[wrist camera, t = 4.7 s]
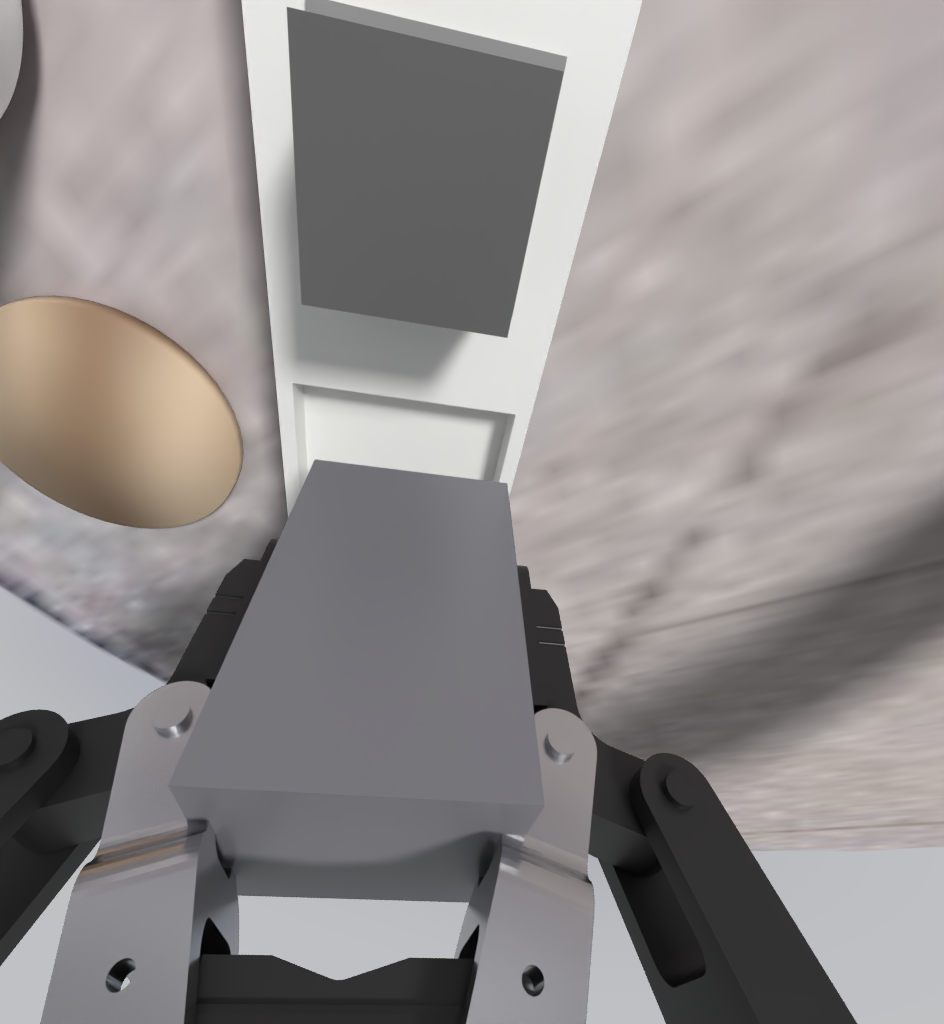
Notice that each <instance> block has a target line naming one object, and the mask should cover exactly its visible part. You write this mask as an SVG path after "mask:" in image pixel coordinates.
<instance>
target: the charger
mask: <svg viewBox="0 0 944 1024" xmlns="http://www.w3.org/2000/svg"><path fill="white" fill-rule="evenodd" d="M168 787H169V788H170V790H171V792H172V794H173V796H174V797H175V799H176V801H177V803H178V805H179V807H180V808H181V810H182V812H183V814H184V816H185V818H186V819H187V820H209V821H210V823H211V825H212V827H213V830H214V832H215V834H216V852H217V857H218V860H219V862H220V864H221V866H222V867H223V868H232V870H233V872H234V874H235V876H236V886H237V895H243V896H245V895H246V896H275V897H307V898H341V899H342V898H343V899H373V900H406V901H438V902H470V899H471V896H472V893H473V889H474V886H475V884H476V882H477V880H478V878H479V877H484V876H485V874H486V873H487V871H488V869H489V867H490V864H491V861H492V858H493V855H494V851H495V848H496V845H497V843H498V841H499V839H500V838H501V836H502V834H512V835H526V834H527V833H528V831H529V830H530V828H531V826H532V825H533V823H534V822H535V820H536V819H537V817H538V815H539V814H540V812H541V811H542V809H543V807H544V806H545V803H544V795H543V786H542V777H541V769H540V760H539V752H538V743H537V734H536V726H535V717H534V709H533V700H532V691H531V683H530V674H529V666H528V657H527V648H526V640H525V631H524V622H523V614H522V605H521V597H520V588H519V579H518V571H517V562H516V554H515V545H514V536H513V528H512V519H511V511H510V502H509V493H508V485H507V483H501V482H493V481H485V480H477V479H469V478H461V477H453V476H445V475H437V474H429V473H421V472H413V471H405V470H397V469H389V468H381V467H373V466H365V465H357V464H349V463H341V462H333V461H325V460H317V459H315V460H314V462H313V464H312V467H311V469H310V471H309V473H308V475H307V478H306V480H305V482H304V484H303V486H302V489H301V491H300V493H299V495H298V498H297V500H296V502H295V504H294V506H293V509H292V511H291V513H290V515H289V518H288V520H287V522H286V524H285V526H284V529H283V531H282V533H281V535H280V538H279V540H278V542H277V544H276V546H275V549H274V551H273V553H272V555H271V558H270V560H269V562H268V564H267V566H266V569H265V571H264V573H263V575H262V578H261V580H260V582H259V584H258V586H257V589H256V591H255V593H254V595H253V598H252V600H251V602H250V604H249V606H248V609H247V611H246V613H245V615H244V618H243V620H242V622H241V624H240V626H239V629H238V631H237V633H236V635H235V637H234V640H233V642H232V644H231V646H230V649H229V651H228V653H227V655H226V657H225V660H224V662H223V664H222V666H221V669H220V671H219V673H218V675H217V677H216V680H215V682H214V684H213V686H212V689H211V691H210V693H209V695H208V697H207V700H206V702H205V704H204V706H203V709H202V711H201V713H200V715H199V717H198V720H197V722H196V724H195V726H194V729H193V731H192V733H191V735H190V737H189V740H188V742H187V744H186V746H185V749H184V751H183V753H182V755H181V757H180V760H179V762H178V764H177V766H176V769H175V771H174V773H173V775H172V777H171V780H170V782H169V784H168Z"/></svg>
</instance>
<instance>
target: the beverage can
mask: <svg viewBox="0 0 944 1024" xmlns="http://www.w3.org/2000/svg"><path fill="white" fill-rule="evenodd" d="M22 47H23V17H22V4H21V0H0V118H1V117H2V115H3V114H4V112H5V110H6V109H7V107H8V105H9V103H10V100H11V98H12V96H13V93H14V90H15V87H16V84H17V80H18V76H19V71H20V65H21V58H22Z"/></svg>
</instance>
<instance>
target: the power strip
mask: <svg viewBox="0 0 944 1024" xmlns="http://www.w3.org/2000/svg"><path fill="white" fill-rule="evenodd" d="M241 1H242V12H243V23H244V34H245V45H246V56H247V67H248V78H249V90H250V101H251V112H252V123H253V134H254V145H255V156H256V167H257V178H258V190H259V201H260V212H261V223H262V234H263V245H264V256H265V267H266V279H267V290H268V301H269V312H270V323H271V334H272V345H273V356H274V367H275V379H276V390H277V401H278V412H279V423H280V434H281V445H282V456H283V468H284V479H285V490H286V501H287V512H288V518H289V515H290V513H291V511H292V509H293V506H294V504H295V502H296V500H297V498H298V495H299V493H300V491H301V489H302V486H303V484H304V482H305V480H306V478H307V475H308V473H309V471H310V469H311V467H312V464H313V462H314V460H315V459H317V460H325V461H333V462H341V463H349V464H357V465H365V466H373V467H381V468H389V469H397V470H405V471H413V472H421V473H429V474H437V475H445V476H453V477H461V478H469V479H477V480H485V481H493V482H501V483H507V485H508V493H509V495H510V492H511V488H512V484H513V481H514V477H515V473H516V469H517V466H518V462H519V458H520V454H521V451H522V447H523V443H524V440H525V436H526V432H527V428H528V425H529V421H530V417H531V414H532V410H533V406H534V402H535V399H536V395H537V391H538V388H539V384H540V380H541V376H542V373H543V369H544V365H545V361H546V358H547V354H548V350H549V347H550V343H551V339H552V335H553V332H554V328H555V324H556V321H557V317H558V313H559V309H560V306H561V302H562V298H563V295H564V291H565V287H566V283H567V280H568V276H569V272H570V268H571V265H572V261H573V257H574V254H575V250H576V246H577V242H578V239H579V235H580V231H581V228H582V224H583V220H584V216H585V213H586V209H587V205H588V202H589V198H590V194H591V190H592V187H593V183H594V179H595V175H596V172H597V168H598V164H599V161H600V157H601V153H602V149H603V146H604V142H605V138H606V135H607V131H608V127H609V123H610V120H611V116H612V112H613V109H614V105H615V101H616V97H617V94H618V90H619V86H620V82H621V79H622V75H623V71H624V68H625V64H626V60H627V56H628V53H629V49H630V45H631V42H632V38H633V34H634V30H635V27H636V23H637V19H638V16H639V12H640V8H641V4H642V1H643V0H241Z"/></svg>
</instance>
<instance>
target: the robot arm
mask: <svg viewBox="0 0 944 1024" xmlns="http://www.w3.org/2000/svg"><path fill="white" fill-rule="evenodd" d="M277 542H278V539H272V540H271V541H270V542H269V544H268V546H267V548H266V550H265V552H264V554H263V556H262V559H261V561H258V560H248V559H244V560H243V561H242V562H240V563H239V564H238V565H237V566H236V567H235V568H233V569H232V570H231V571H230V572H229V573H228V574H226V576H225V578H224V580H223V581H222V583H221V585H220V587H219V589H218V591H217V593H216V597H215V598H213V600H212V602H211V604H210V606H209V608H208V610H207V614H206V615H204V617H203V619H202V621H201V623H200V625H199V627H198V628H197V630H196V632H195V634H194V636H193V638H192V640H191V642H190V644H189V645H188V647H187V649H186V651H185V653H184V655H183V657H182V659H181V661H180V662H179V664H178V666H177V668H176V670H175V672H174V674H173V675H172V677H171V679H170V680H169V681H168V683H167V684H166V685H165V686H162V687H160V688H158V689H156V690H154V691H153V692H151V693H150V694H148V695H147V696H146V697H145V698H143V699H142V700H141V701H140V702H139V703H138V704H137V705H136V706H135V707H134V708H132V709H129V710H127V711H124V712H120V713H116V714H112V715H107V716H102V717H98V718H93V719H89V720H84V721H79V722H75V723H70V724H67V722H66V721H65V720H64V719H63V718H62V717H61V716H60V715H59V714H57V713H55V712H52V711H48V710H30V711H25V712H20V713H17V714H14V715H12V716H9V717H6V718H4V719H2V720H0V966H1V965H2V963H3V962H4V961H5V959H6V958H7V957H8V956H9V954H10V953H11V952H12V951H13V949H14V948H15V947H16V945H17V944H18V943H19V942H20V940H21V939H22V938H23V936H24V935H25V934H26V933H27V932H28V930H29V929H30V928H31V926H32V925H33V924H34V923H35V921H36V920H37V919H38V918H39V916H40V915H41V914H42V913H43V911H44V910H45V909H46V908H47V906H48V905H49V904H50V902H51V901H52V900H53V899H54V897H55V896H56V895H57V893H58V892H59V891H60V890H61V889H62V887H63V886H64V885H65V883H66V882H67V881H68V880H69V878H70V877H71V876H72V875H73V873H74V872H75V871H76V869H77V868H78V867H79V866H80V864H81V863H82V862H83V861H84V859H85V858H86V857H87V856H88V854H89V853H90V852H91V851H92V849H93V848H94V847H95V845H96V844H97V843H98V842H99V840H100V839H101V842H100V846H99V849H98V851H97V854H96V856H95V858H94V859H93V860H92V861H91V862H89V863H87V864H86V865H85V866H84V867H83V869H82V870H81V872H80V874H79V875H78V877H77V880H76V882H75V884H74V887H73V890H72V893H71V897H70V901H69V905H68V909H67V913H66V917H65V922H64V926H63V930H62V934H61V938H60V943H59V947H58V951H57V956H56V960H55V964H54V968H53V972H52V976H51V981H50V985H49V989H48V993H47V997H46V1002H45V1006H44V1010H43V1015H42V1019H41V1023H40V1024H586V1015H587V1002H588V990H589V976H590V964H591V950H592V936H593V924H594V904H595V903H594V889H593V885H592V882H591V881H590V880H589V879H588V874H587V862H588V854H590V855H592V856H594V857H596V858H598V860H599V862H600V864H601V867H602V869H603V872H604V874H605V877H606V879H607V881H608V884H609V886H610V889H611V891H612V894H613V896H614V898H615V901H616V903H617V906H618V908H619V911H620V913H621V915H622V918H623V920H624V923H625V925H626V928H627V930H628V932H629V935H630V937H631V940H632V942H633V944H634V947H635V949H636V952H637V954H638V957H639V959H640V961H641V964H642V966H643V969H644V971H645V974H646V976H647V978H648V981H649V983H650V986H651V988H652V991H653V993H654V995H655V997H656V1000H657V1003H658V1005H659V1007H660V1010H661V1012H662V1015H663V1017H664V1020H665V1022H666V1024H857V1023H856V1021H855V1020H854V1018H853V1016H852V1015H851V1013H850V1011H849V1010H848V1008H847V1007H846V1005H845V1003H844V1002H843V1000H842V998H841V997H840V995H839V993H838V992H837V990H836V989H835V987H834V986H833V984H832V982H831V980H830V979H829V977H828V976H827V974H826V972H825V971H824V969H823V967H822V966H821V964H820V963H819V961H818V959H817V958H816V956H815V955H814V953H813V951H812V950H811V948H810V947H809V945H808V943H807V942H806V940H805V938H804V937H803V935H802V933H801V932H800V930H799V929H798V927H797V925H796V924H795V922H794V920H793V919H792V918H791V916H790V914H789V913H788V911H787V909H786V908H785V906H784V904H783V903H782V901H781V900H780V898H779V896H778V895H777V893H776V891H775V890H774V888H773V886H772V885H771V883H770V882H769V880H768V879H767V877H766V875H765V873H764V872H763V870H762V869H761V867H760V865H759V864H758V862H757V861H756V859H755V857H754V856H753V854H752V852H751V851H750V849H749V847H748V846H747V844H746V843H745V841H744V839H743V838H742V836H741V834H740V833H739V831H738V830H737V828H736V826H735V825H734V823H733V822H732V820H731V818H730V817H729V815H728V813H727V812H726V810H725V809H724V807H723V805H722V804H721V802H720V800H719V799H718V797H717V796H716V794H715V792H714V791H713V789H712V787H711V786H710V784H709V783H708V781H707V780H706V778H705V777H704V776H703V774H702V773H701V772H700V771H699V770H698V769H697V768H696V767H695V766H694V765H692V764H691V763H690V762H688V761H687V760H685V759H683V758H681V757H679V756H676V755H673V754H669V753H660V754H655V755H653V756H651V757H650V758H648V759H647V760H646V761H644V760H642V759H639V758H637V757H634V756H632V755H629V754H627V753H625V752H622V751H620V750H617V749H615V748H613V747H611V746H609V745H607V744H605V743H603V742H602V741H600V740H599V739H598V738H597V737H596V736H594V735H593V734H592V733H591V731H590V730H589V728H588V727H587V726H586V724H585V723H584V722H583V720H582V719H581V717H580V714H579V712H578V708H577V704H576V699H575V694H574V689H573V683H572V678H571V673H570V668H569V662H568V657H567V652H566V647H565V646H564V645H565V641H564V636H563V631H561V629H562V626H561V621H560V615H559V610H558V607H557V606H556V604H555V603H554V601H553V599H552V598H551V596H550V595H549V593H548V592H547V590H539V589H531V584H530V577H529V571H528V568H527V567H526V566H518V565H517V571H518V579H519V588H520V597H521V605H522V614H523V622H524V631H525V640H526V648H527V657H528V666H529V674H530V683H531V691H532V700H533V709H534V717H535V726H536V734H537V743H538V752H539V760H540V769H541V777H542V786H543V795H544V803H545V806H544V807H543V809H542V811H541V812H540V814H539V815H538V817H537V819H536V820H535V822H534V823H533V825H532V826H531V828H530V830H529V831H528V833H527V834H526V835H512V834H502V836H501V838H500V839H499V841H498V843H497V845H496V848H495V851H494V855H493V858H492V861H491V864H490V867H489V869H488V871H487V873H486V874H485V876H484V877H479V878H478V880H477V882H476V884H475V886H474V889H473V893H472V896H471V899H470V902H469V905H468V908H467V911H466V915H465V918H464V922H463V925H462V929H461V933H460V937H459V940H458V944H457V948H456V953H455V957H454V959H446V958H408V959H405V960H402V961H399V962H396V963H393V964H390V965H387V966H384V967H381V968H378V969H375V970H372V971H369V972H366V973H363V974H360V975H357V976H354V977H351V978H348V979H345V980H333V979H330V978H328V977H325V976H323V975H320V974H317V973H315V972H312V971H310V970H307V969H305V968H302V967H300V966H297V965H295V964H292V963H290V962H287V961H285V960H282V959H280V958H277V957H275V956H272V955H238V952H239V951H238V950H239V907H238V896H237V886H236V876H235V874H234V872H233V870H232V868H223V867H222V866H221V864H220V862H219V860H218V857H217V852H216V834H215V832H214V830H213V827H212V825H211V823H210V821H209V820H187V819H186V818H185V816H184V814H183V812H182V810H181V808H180V807H179V805H178V803H177V801H176V799H175V797H174V796H173V794H172V792H171V790H170V788H169V787H168V784H169V782H170V780H171V777H172V775H173V773H174V771H175V769H176V766H177V764H178V762H179V760H180V757H181V755H182V753H183V751H184V749H185V746H186V744H187V742H188V740H189V737H190V735H191V733H192V731H193V729H194V726H195V724H196V722H197V720H198V717H199V715H200V713H201V711H202V709H203V706H204V704H205V702H206V700H207V697H208V695H209V693H210V691H211V689H212V686H213V684H214V682H215V680H216V677H217V675H218V673H219V671H220V669H221V666H222V664H223V662H224V660H225V657H226V655H227V653H228V651H229V649H230V646H231V644H232V642H233V640H234V637H235V635H236V633H237V631H238V629H239V626H240V624H241V622H242V620H243V618H244V615H245V613H246V611H247V609H248V606H249V604H250V602H251V600H252V598H253V595H254V593H255V591H256V589H257V586H258V584H259V582H260V580H261V578H262V575H263V573H264V571H265V569H266V566H267V564H268V562H269V560H270V558H271V555H272V553H273V551H274V549H275V546H276V544H277ZM126 977H127V978H128V979H129V980H130V984H129V985H128V986H127V987H126V988H124V989H123V990H121V991H120V989H121V985H122V983H123V981H124V979H125V978H126Z"/></svg>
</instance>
